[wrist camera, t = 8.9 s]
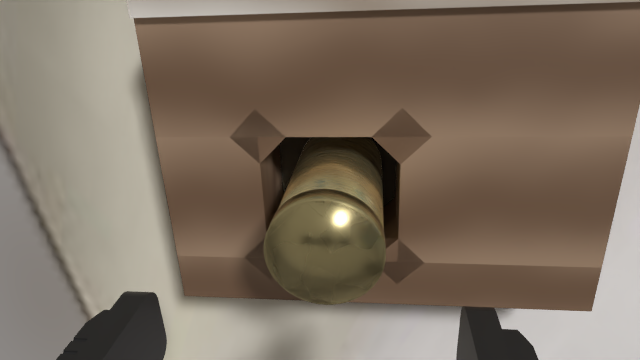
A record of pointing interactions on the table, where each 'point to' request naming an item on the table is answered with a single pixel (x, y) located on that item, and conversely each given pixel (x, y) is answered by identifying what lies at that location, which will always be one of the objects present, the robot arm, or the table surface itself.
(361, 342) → the table surface
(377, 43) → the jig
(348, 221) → the brass cylinder plug
